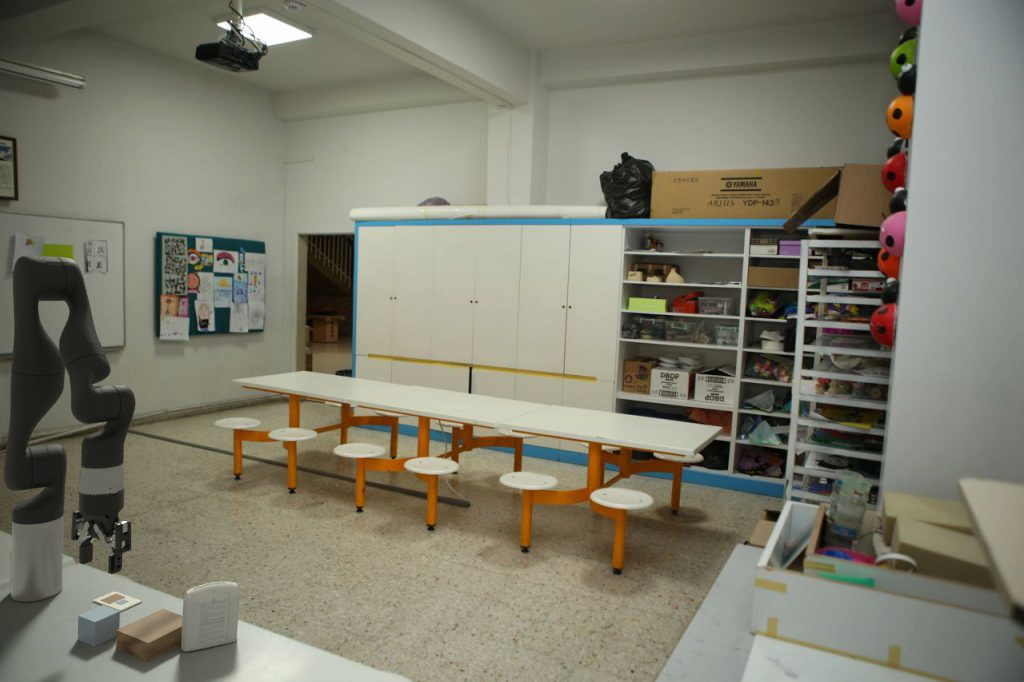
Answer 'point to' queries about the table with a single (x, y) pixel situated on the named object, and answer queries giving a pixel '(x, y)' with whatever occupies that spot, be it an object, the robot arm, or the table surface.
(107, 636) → the top brick
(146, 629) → the base brick
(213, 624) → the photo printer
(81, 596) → the table surface
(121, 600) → the page
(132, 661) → the table surface
